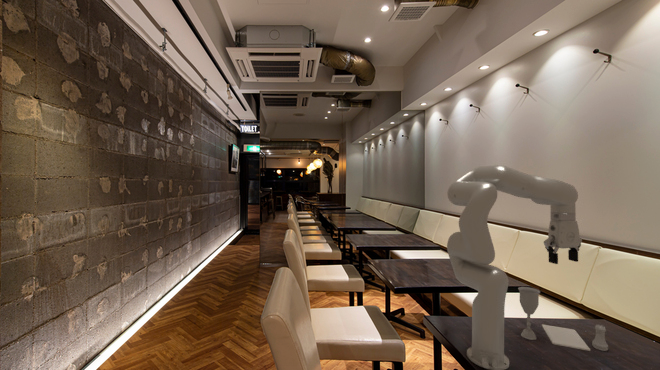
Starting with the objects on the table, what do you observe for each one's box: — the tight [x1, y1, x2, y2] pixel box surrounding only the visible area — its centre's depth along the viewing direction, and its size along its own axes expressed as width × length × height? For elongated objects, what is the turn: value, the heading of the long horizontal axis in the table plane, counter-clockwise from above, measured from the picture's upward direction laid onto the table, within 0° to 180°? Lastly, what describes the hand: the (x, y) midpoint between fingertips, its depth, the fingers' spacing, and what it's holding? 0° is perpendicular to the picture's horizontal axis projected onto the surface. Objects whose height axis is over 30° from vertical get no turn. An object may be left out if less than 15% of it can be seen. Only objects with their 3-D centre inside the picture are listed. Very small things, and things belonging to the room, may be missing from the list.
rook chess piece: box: [591, 324, 609, 352], centre depth 107 cm, size 4×4×8 cm
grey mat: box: [541, 323, 591, 352], centre depth 115 cm, size 16×11×1 cm
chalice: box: [517, 286, 541, 341], centre depth 115 cm, size 7×7×18 cm
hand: (563, 261), depth 113 cm, fingers open, 9 cm apart
